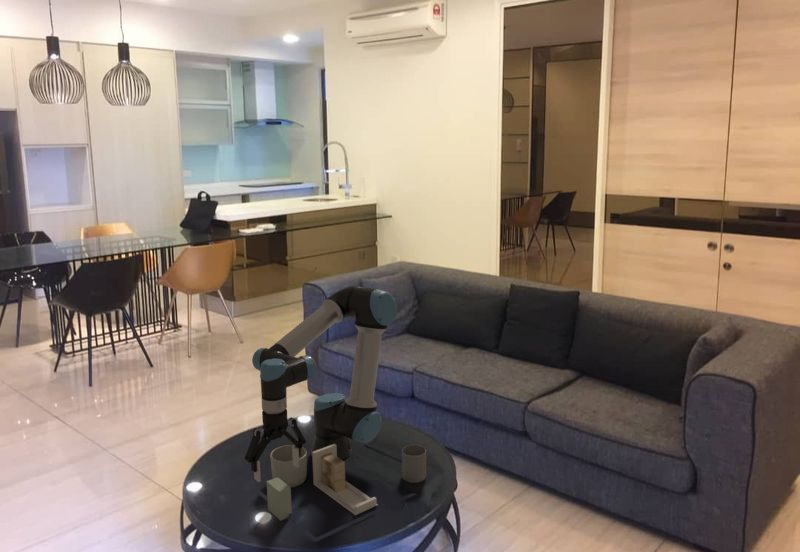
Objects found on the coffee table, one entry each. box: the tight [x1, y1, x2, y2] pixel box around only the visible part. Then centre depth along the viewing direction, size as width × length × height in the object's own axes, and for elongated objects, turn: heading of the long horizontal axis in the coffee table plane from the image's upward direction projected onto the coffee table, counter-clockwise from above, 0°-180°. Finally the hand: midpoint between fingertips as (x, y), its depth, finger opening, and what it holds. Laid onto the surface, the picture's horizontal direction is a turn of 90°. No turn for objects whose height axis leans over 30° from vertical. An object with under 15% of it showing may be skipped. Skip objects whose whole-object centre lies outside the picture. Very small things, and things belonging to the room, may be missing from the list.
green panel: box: [266, 477, 293, 522], centre depth 207 cm, size 8×4×10 cm, turn 40°
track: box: [312, 444, 379, 516], centre depth 215 cm, size 24×9×13 cm, turn 40°
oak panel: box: [321, 453, 346, 493], centre depth 220 cm, size 8×4×10 cm, turn 40°
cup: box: [401, 444, 427, 484], centre depth 228 cm, size 8×8×10 cm
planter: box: [269, 444, 308, 488], centre depth 225 cm, size 12×12×11 cm
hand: (277, 473), depth 205 cm, fingers open, 13 cm apart
